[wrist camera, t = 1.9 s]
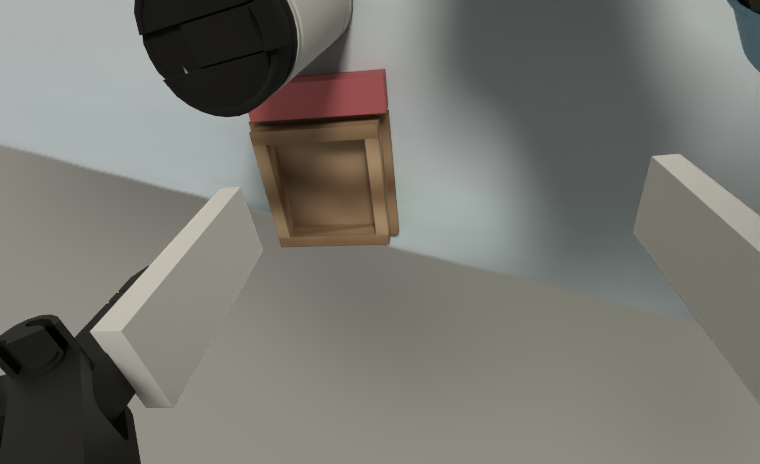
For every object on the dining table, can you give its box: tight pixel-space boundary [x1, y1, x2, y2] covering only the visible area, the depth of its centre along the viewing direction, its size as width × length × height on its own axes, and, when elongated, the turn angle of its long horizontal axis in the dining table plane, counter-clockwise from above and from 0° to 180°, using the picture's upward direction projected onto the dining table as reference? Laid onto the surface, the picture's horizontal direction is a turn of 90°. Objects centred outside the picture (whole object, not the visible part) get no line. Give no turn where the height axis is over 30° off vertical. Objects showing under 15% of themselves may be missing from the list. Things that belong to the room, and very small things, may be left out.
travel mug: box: [134, 0, 353, 117], centre depth 24 cm, size 6×7×20 cm
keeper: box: [249, 110, 399, 247], centre depth 40 cm, size 13×13×3 cm
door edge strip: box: [249, 69, 388, 122], centre depth 35 cm, size 3×12×2 cm, turn 96°
